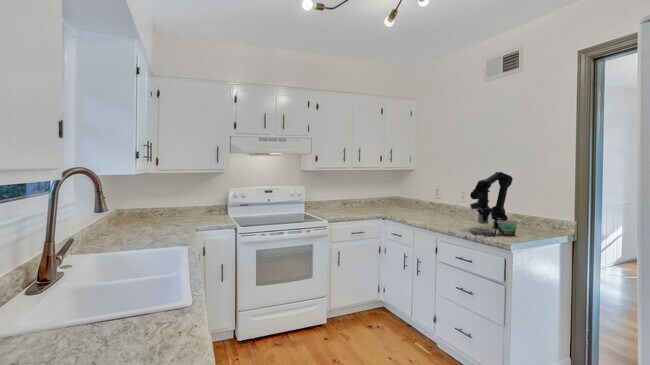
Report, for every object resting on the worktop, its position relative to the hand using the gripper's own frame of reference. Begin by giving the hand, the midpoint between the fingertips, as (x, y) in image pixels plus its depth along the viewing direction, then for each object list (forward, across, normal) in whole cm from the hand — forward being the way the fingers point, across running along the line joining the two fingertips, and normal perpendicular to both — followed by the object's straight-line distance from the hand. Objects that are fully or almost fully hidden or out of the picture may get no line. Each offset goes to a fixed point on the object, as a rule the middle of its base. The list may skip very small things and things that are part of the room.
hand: (483, 220), depth 220 cm
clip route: (+7, +14, -1) cm, 16 cm away
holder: (+7, +10, -4) cm, 13 cm away
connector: (+2, 0, 0) cm, 2 cm away
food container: (+7, +15, +11) cm, 20 cm away
